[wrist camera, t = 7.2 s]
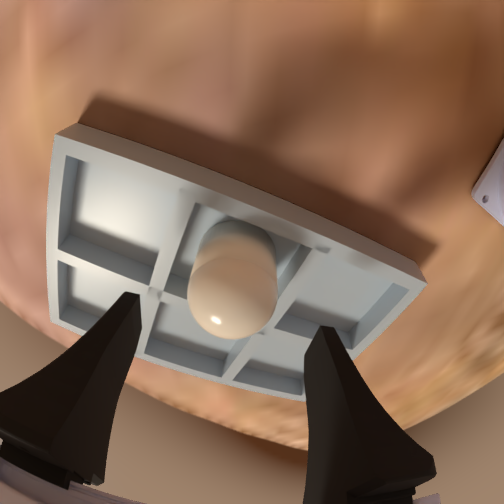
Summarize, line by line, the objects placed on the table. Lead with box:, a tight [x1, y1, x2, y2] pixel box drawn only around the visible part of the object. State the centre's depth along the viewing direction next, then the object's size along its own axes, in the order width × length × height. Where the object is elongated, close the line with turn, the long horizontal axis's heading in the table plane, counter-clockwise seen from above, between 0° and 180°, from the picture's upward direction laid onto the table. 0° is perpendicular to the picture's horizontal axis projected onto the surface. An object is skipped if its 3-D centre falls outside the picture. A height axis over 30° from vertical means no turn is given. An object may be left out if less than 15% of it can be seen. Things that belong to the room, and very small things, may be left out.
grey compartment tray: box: [46, 123, 428, 402], centre depth 18 cm, size 20×14×2 cm
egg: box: [187, 221, 278, 340], centre depth 14 cm, size 4×4×5 cm
